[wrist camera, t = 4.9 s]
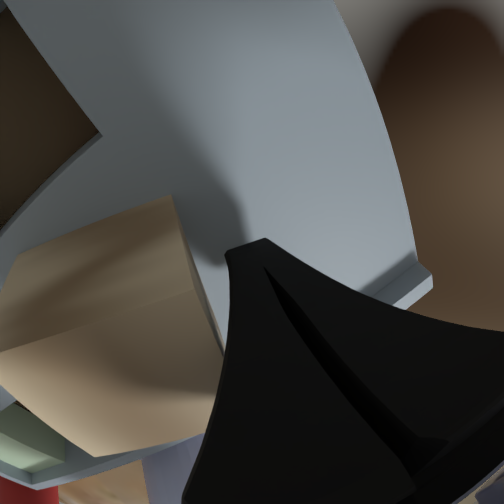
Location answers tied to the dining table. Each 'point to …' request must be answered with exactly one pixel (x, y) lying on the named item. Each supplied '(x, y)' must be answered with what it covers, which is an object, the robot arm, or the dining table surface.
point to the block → (113, 333)
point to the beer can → (26, 494)
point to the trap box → (213, 159)
